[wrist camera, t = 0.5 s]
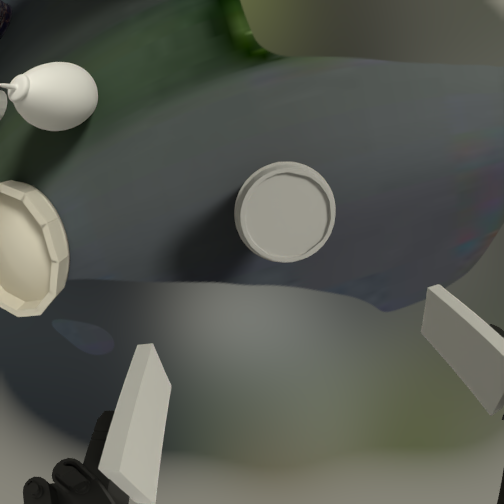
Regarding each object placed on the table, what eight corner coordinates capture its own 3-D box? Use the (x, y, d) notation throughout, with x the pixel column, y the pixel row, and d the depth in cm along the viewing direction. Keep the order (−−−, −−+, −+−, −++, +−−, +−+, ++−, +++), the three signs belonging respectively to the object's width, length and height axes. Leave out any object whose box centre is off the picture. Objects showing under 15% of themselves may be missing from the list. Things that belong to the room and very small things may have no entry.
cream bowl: (-30, 200, 32) (-45, 205, 29) (50, 164, 33) (35, 167, 29) (4, 308, 39) (-7, 319, 36) (87, 298, 40) (77, 311, 36)
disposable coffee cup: (239, 237, 39) (244, 275, 28) (225, 164, 36) (225, 171, 24) (310, 225, 39) (343, 256, 28) (301, 152, 36) (334, 156, 25)
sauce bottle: (102, 65, 29) (26, 23, 12) (117, 114, 32) (39, 96, 15) (55, 93, 30) (-33, 77, 13) (69, 141, 32) (-21, 148, 15)
